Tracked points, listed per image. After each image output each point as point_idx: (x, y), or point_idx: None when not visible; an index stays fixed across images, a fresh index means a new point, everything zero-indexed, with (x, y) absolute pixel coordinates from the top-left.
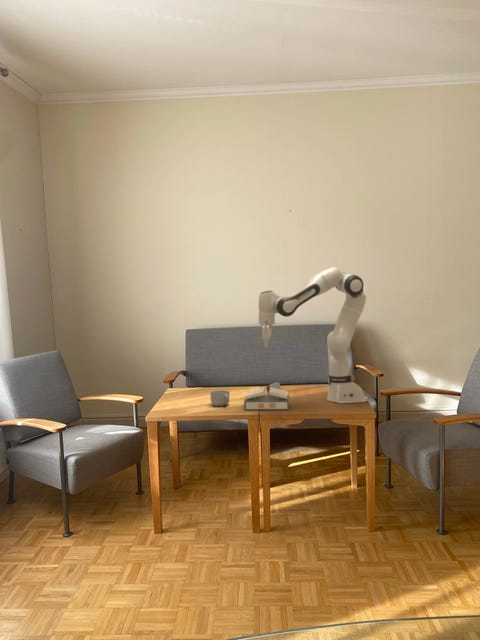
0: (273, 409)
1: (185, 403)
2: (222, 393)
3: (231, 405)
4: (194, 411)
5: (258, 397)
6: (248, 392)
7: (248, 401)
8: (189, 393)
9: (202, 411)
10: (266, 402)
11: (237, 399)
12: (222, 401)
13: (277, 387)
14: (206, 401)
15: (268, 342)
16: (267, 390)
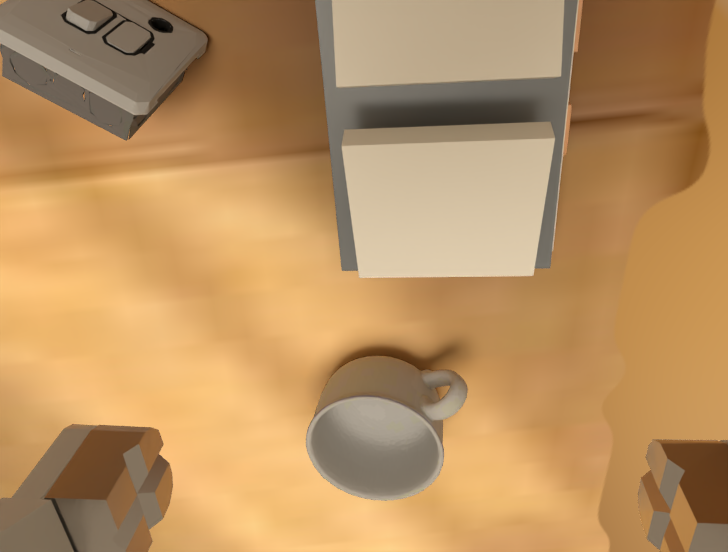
0: None
1: (347, 536)
2: (436, 434)
3: (387, 327)
4: (528, 485)
5: None
6: (397, 268)
7: (553, 235)
8: None
9: (533, 452)
10: (570, 79)
11: (217, 310)
12: (437, 395)
13: (65, 24)
14: (293, 460)
15: (117, 496)
16: (146, 118)
